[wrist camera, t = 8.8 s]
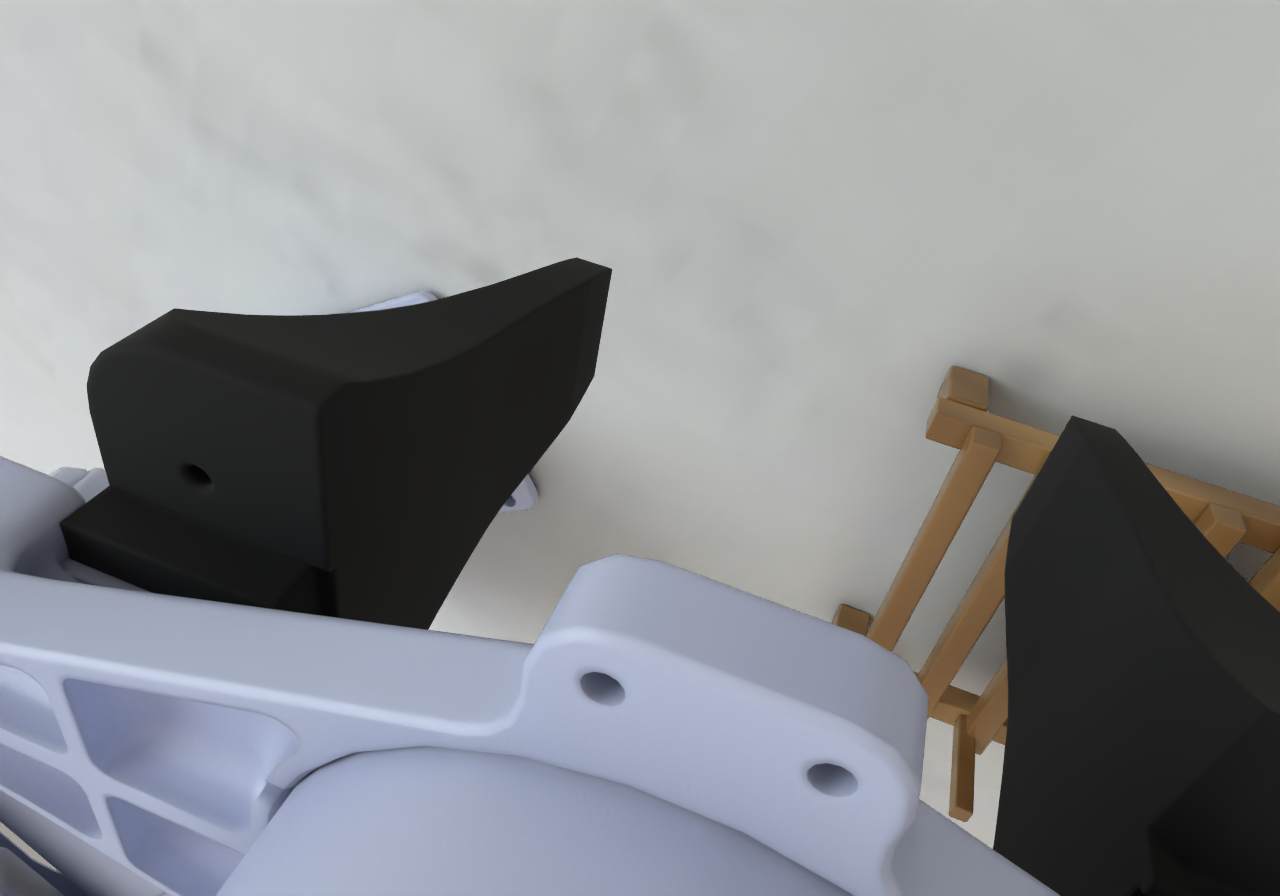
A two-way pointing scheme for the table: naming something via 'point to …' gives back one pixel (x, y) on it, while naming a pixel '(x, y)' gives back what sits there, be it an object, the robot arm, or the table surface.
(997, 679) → the dish rack
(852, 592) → the table surface
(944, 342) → the table surface
